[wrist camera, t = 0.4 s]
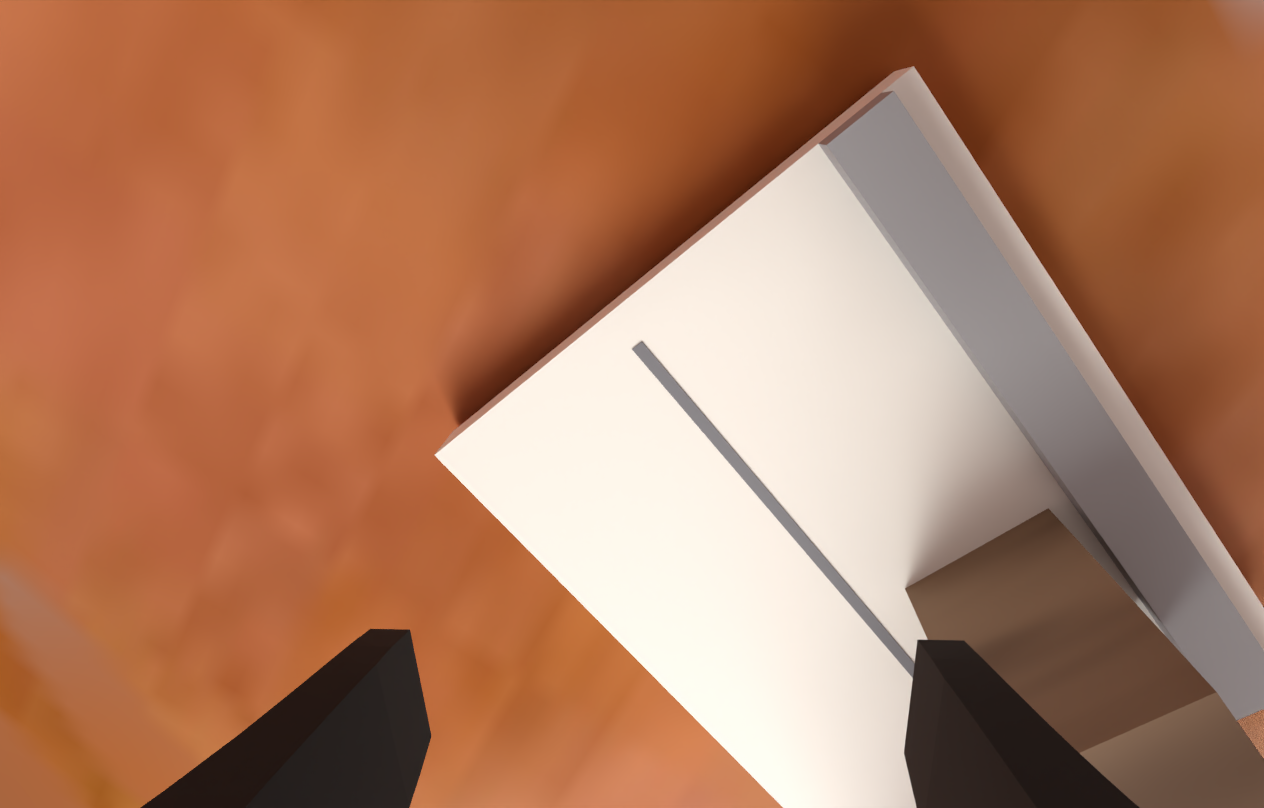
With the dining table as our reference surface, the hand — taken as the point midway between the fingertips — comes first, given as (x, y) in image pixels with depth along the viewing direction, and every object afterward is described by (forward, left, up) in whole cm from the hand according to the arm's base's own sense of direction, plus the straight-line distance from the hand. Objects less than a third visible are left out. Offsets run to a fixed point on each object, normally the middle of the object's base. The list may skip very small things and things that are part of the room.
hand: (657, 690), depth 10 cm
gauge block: (-9, -4, -8) cm, 13 cm away
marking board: (-5, -2, -10) cm, 11 cm away
